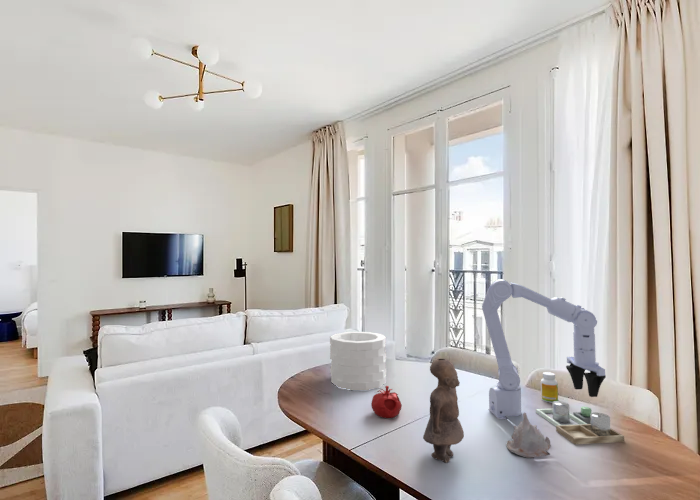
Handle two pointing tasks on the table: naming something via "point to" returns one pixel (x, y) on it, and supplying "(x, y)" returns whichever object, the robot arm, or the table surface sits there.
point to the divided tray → (587, 434)
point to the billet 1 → (561, 412)
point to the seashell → (528, 440)
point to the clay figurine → (444, 411)
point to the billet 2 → (600, 424)
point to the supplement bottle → (549, 387)
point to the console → (582, 417)
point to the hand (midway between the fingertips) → (585, 392)
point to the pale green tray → (542, 413)
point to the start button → (586, 411)
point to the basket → (358, 360)
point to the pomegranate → (386, 404)
